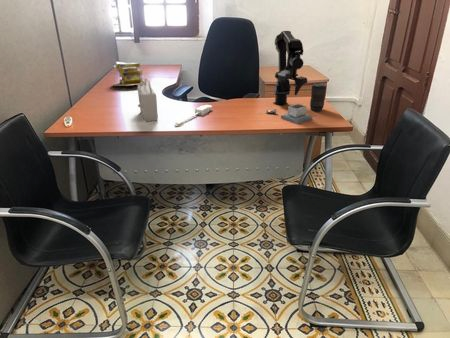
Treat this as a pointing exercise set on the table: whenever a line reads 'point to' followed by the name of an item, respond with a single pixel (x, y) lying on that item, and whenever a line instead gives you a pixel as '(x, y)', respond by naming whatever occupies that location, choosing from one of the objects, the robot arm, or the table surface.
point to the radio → (147, 101)
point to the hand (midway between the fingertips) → (289, 93)
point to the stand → (296, 120)
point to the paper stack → (128, 73)
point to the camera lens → (317, 96)
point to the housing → (297, 110)
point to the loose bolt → (271, 112)
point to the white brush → (196, 113)
